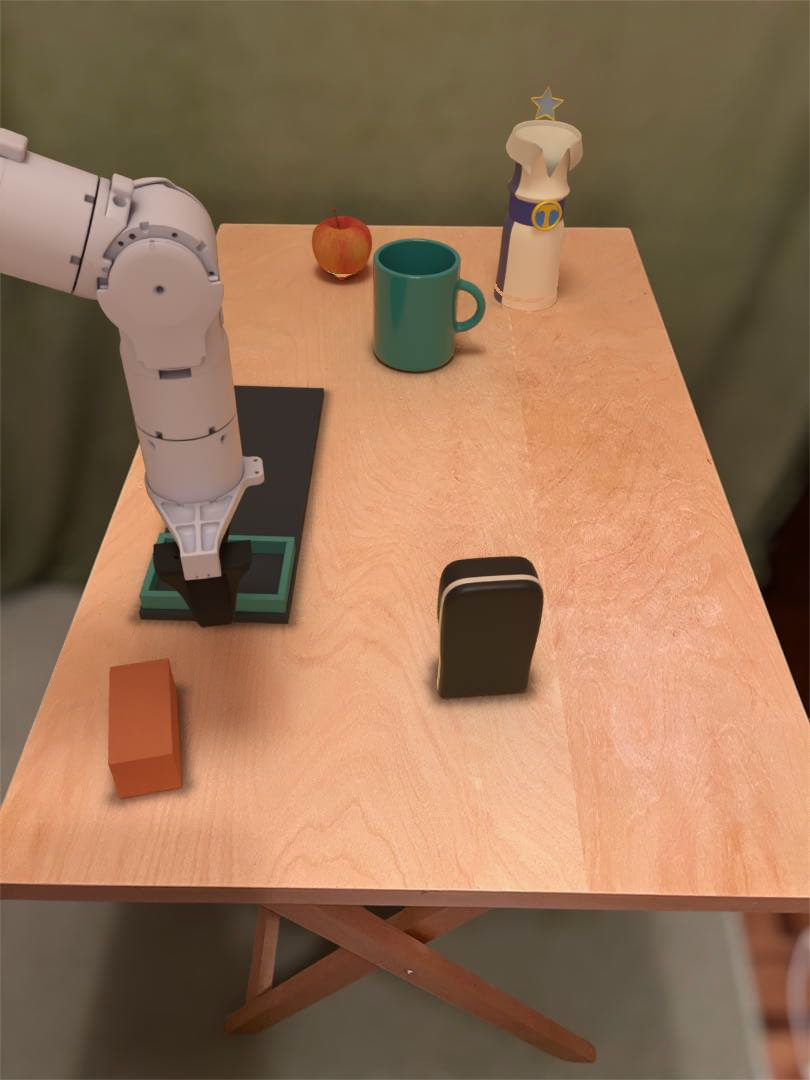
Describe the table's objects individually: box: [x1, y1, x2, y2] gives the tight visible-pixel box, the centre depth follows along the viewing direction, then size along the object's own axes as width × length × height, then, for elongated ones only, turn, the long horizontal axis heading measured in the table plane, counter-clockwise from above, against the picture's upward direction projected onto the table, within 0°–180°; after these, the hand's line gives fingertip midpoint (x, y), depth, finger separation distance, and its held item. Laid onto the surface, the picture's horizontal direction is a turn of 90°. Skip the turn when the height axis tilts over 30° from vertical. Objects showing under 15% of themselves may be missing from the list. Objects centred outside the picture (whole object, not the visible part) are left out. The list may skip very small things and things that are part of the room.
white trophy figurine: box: [493, 85, 584, 312], centre depth 103 cm, size 8×9×25 cm
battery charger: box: [436, 555, 545, 697], centre depth 64 cm, size 7×4×11 cm, turn 96°
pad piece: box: [107, 657, 183, 799], centre depth 62 cm, size 4×8×4 cm, turn 13°
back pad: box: [138, 384, 325, 625], centre depth 82 cm, size 32×12×2 cm, turn 179°
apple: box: [311, 207, 373, 281], centre depth 112 cm, size 7×7×8 cm
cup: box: [372, 237, 487, 373], centre depth 97 cm, size 9×12×11 cm
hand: (214, 579), depth 61 cm, fingers open, 7 cm apart
